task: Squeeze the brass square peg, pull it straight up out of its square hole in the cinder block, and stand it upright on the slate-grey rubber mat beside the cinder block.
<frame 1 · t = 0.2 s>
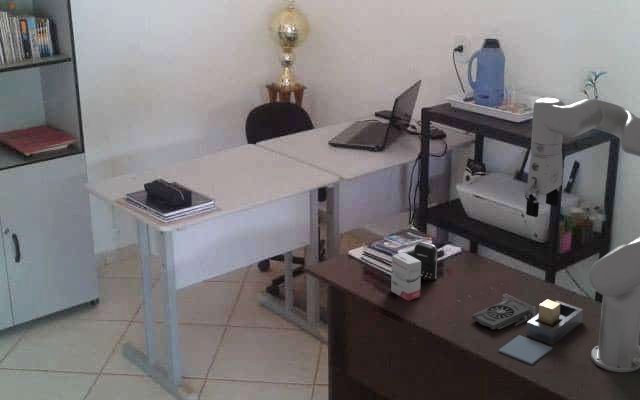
hand: (541, 210, 225), 35 cm above the table, tool pointing down, fingers open, 9 cm apart
cinder block: (554, 328, 238), on the table
mat: (525, 350, 228), on the table
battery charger: (425, 278, 269), on the table
graphics card: (499, 319, 245), on the table
ink box: (405, 294, 260), on the table
brass peg: (547, 333, 236), resting in cinder block
metal beam: (468, 297, 258), on the table
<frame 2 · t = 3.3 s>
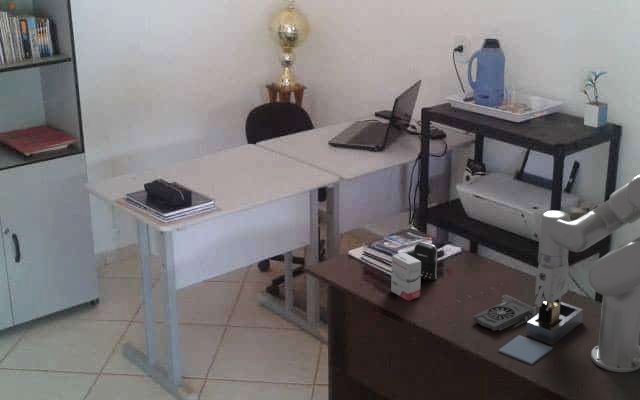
hand: (548, 317, 234), 5 cm above the table, tool pointing down, fingers closed on brass peg, 4 cm apart
brass peg: (547, 333, 236), resting in cinder block, touching gripper
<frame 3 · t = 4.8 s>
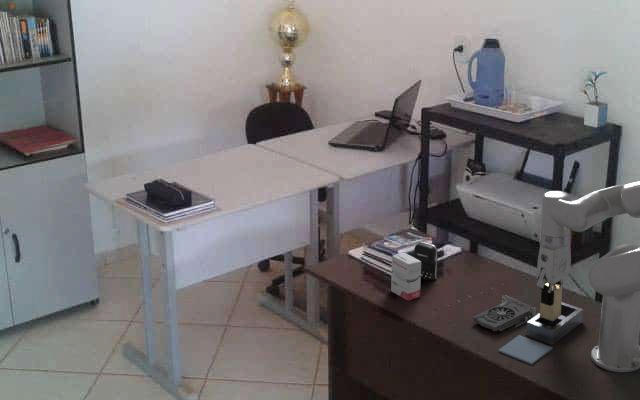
hand: (551, 300, 232), 10 cm above the table, tool pointing down, fingers closed on brass peg, 4 cm apart
brass peg: (550, 316, 233), point 5 cm above the table, touching gripper
everything else where it was.
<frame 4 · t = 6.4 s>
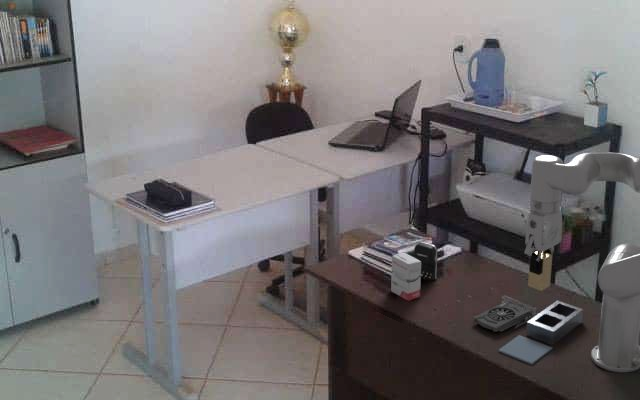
hand: (540, 269, 224), 21 cm above the table, tool pointing down, fingers closed on brass peg, 4 cm apart
brass peg: (539, 285, 226), point 17 cm above the table, touching gripper
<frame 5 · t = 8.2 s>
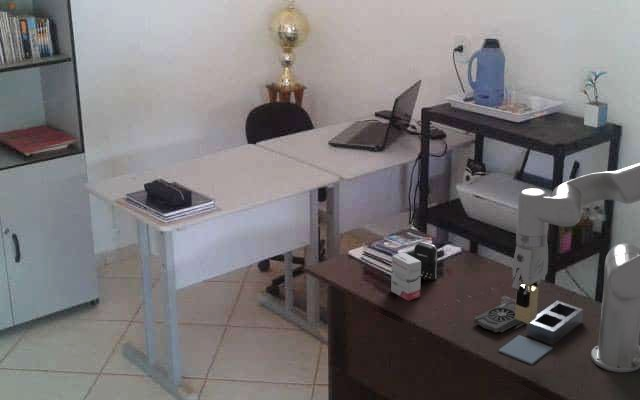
hand: (527, 302, 223), 14 cm above the table, tool pointing down, fingers closed on brass peg, 4 cm apart
brass peg: (525, 318, 225), point 9 cm above the table, touching gripper
when the fingers open (7 cm above the table, at t = 9.9 s): brass peg drops 1 cm, resting on mat.
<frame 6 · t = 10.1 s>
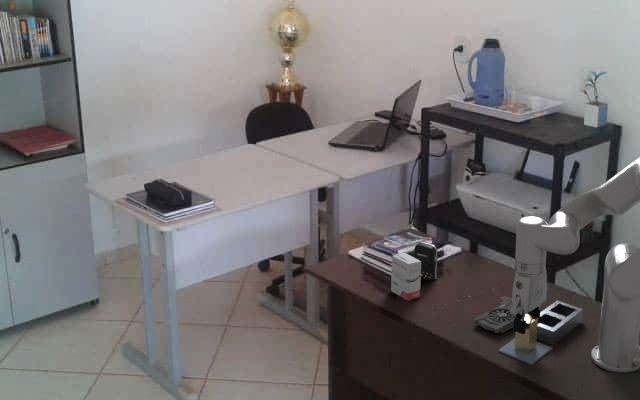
hand: (526, 326, 225), 7 cm above the table, tool pointing down, fingers open, 6 cm apart
brass peg: (525, 348, 228), resting on mat
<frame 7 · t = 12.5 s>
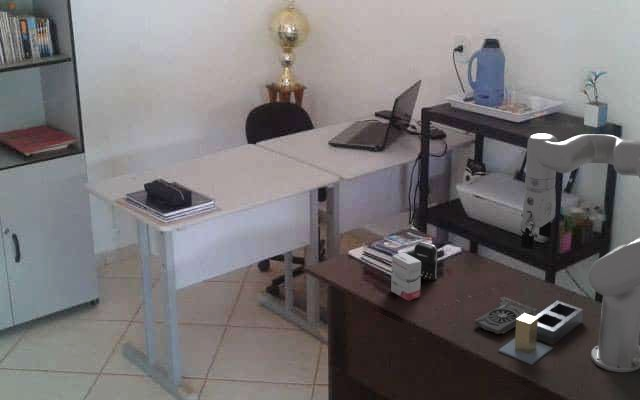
hand: (536, 241, 230), 26 cm above the table, tool pointing down, fingers open, 9 cm apart
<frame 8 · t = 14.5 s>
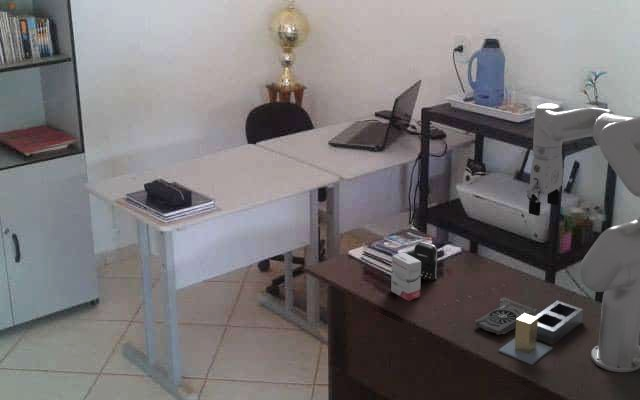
hand: (543, 209, 239), 30 cm above the table, tool pointing down, fingers open, 9 cm apart
at the end: brass peg inside the target area on the mat (0.0 cm from its centre), point 0.5 cm above the mat's base; brass peg tilted 0°; the gripper is holding nothing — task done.
